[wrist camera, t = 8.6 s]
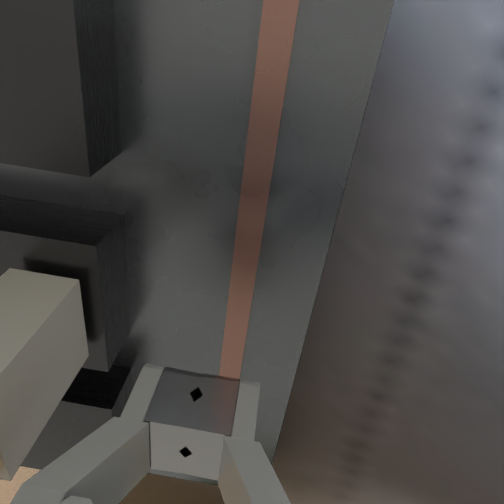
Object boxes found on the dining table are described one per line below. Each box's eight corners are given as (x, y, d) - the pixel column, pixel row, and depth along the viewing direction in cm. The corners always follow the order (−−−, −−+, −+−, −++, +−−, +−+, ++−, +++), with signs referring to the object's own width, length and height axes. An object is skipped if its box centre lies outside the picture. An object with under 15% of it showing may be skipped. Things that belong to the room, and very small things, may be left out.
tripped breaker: (79, 279, 11) (-42, 424, 7) (88, 355, 13) (-7, 508, 9) (10, 267, 11) (-147, 405, 7) (28, 345, 13) (-93, 491, 9)
